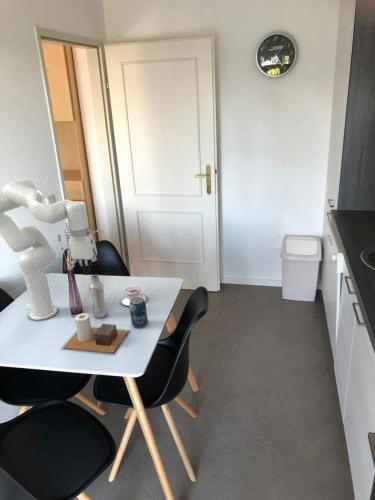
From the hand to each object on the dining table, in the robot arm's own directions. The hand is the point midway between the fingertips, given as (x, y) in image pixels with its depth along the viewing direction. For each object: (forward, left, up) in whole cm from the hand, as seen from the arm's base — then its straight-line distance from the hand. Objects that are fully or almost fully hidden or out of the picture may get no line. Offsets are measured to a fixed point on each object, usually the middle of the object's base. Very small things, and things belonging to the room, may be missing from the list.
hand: (86, 273), depth 177 cm
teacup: (+9, +24, -25) cm, 36 cm away
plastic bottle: (-1, +8, -25) cm, 27 cm away
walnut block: (+11, -11, -25) cm, 29 cm away
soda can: (+20, +3, -25) cm, 32 cm away
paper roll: (+1, -11, -20) cm, 22 cm away
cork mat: (+6, -11, -25) cm, 28 cm away
